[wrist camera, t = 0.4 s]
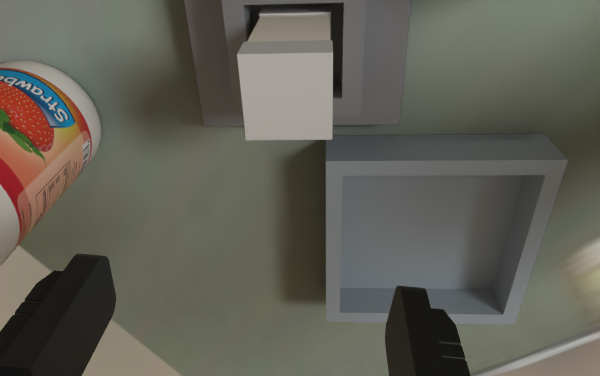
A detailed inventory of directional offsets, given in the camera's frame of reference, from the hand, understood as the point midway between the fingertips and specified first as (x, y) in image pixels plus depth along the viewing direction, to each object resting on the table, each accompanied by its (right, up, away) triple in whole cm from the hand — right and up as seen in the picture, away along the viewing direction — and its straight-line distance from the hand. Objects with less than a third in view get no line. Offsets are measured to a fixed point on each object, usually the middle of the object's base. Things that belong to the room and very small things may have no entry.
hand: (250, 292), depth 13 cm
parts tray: (+12, 0, +26) cm, 29 cm away
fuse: (+1, +12, +17) cm, 21 cm away
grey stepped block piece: (+1, +13, +18) cm, 23 cm away
